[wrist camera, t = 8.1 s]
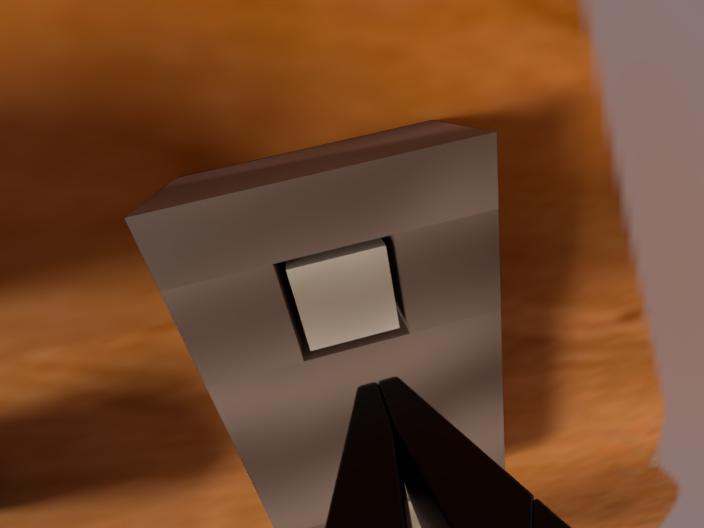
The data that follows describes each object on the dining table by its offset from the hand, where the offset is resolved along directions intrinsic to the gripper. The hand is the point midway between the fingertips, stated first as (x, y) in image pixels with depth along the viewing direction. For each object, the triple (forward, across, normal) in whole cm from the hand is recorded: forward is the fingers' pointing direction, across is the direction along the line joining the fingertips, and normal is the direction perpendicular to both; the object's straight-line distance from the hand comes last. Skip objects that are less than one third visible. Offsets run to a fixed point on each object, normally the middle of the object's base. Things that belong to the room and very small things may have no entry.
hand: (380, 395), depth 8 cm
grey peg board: (+9, 0, +6) cm, 11 cm away
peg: (+9, 0, 0) cm, 9 cm away
